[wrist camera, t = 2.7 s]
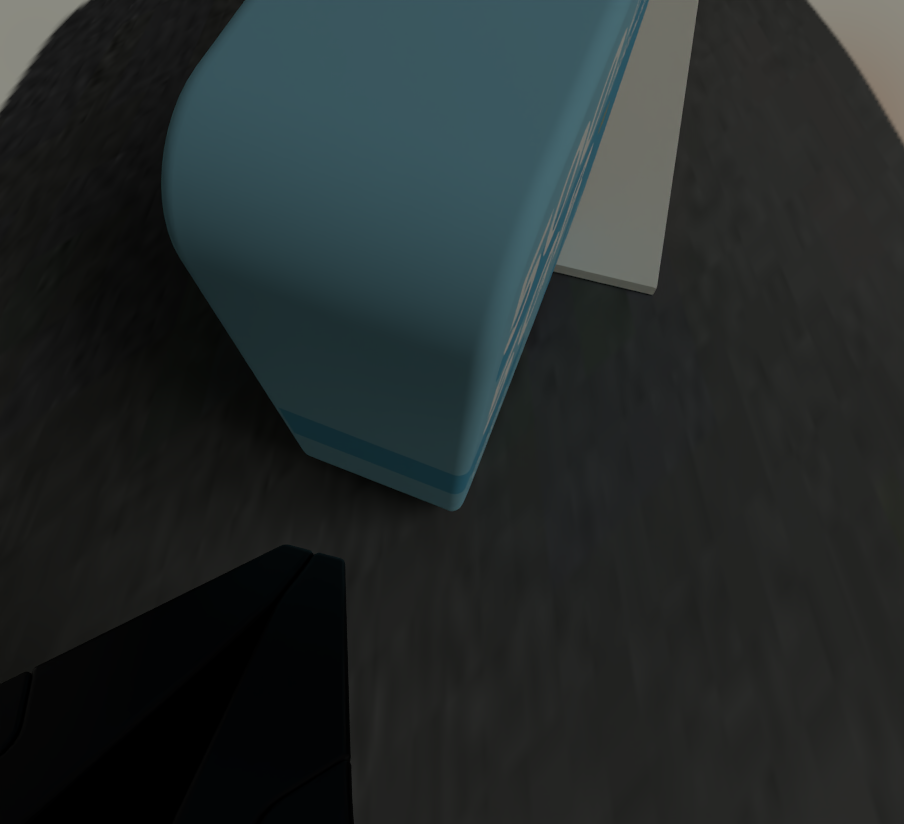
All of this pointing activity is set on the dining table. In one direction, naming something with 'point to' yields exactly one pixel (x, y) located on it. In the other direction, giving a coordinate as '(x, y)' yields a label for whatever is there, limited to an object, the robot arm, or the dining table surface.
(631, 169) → the mat
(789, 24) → the dining table surface
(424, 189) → the blue rounded flat block
